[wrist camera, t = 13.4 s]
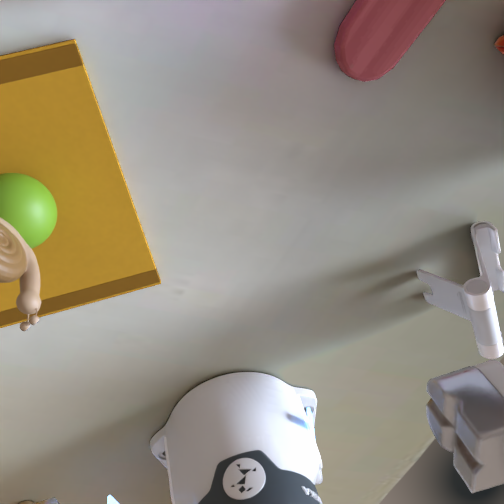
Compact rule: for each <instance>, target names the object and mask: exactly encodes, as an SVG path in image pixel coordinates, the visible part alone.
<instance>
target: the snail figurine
mask: <svg viewBox="0 0 504 504" xmlns="http://www.w3.org/2000/svg"><path fill="white" fill-rule="evenodd" d="M56 221H57V207H56V203H55V200H54V198H53V196H52V194H51V193H50V191H49V190H48V189H47V188H46V187H45V186H44V185H43V184H42V183H41V182H39V181H38V180H36V179H35V178H33V177H30V176H28V175H24V174H20V173H3V174H0V283H10V282H13V281H15V280H17V279H19V278H20V294H19V295H18V297H17V299H16V305H17V307H18V309H19V310H20V311H21V312H22V313H24V314H27V321H26V322H22V323H21V325H20V329H21V330H22V331H26V330H28V329H29V328H30V324H32V325H35V324H37V323H38V322H39V317H38V316H37V312H38V311H39V309H40V306H41V299H40V297H39V293H40V272H39V266H38V263H37V259H36V256H35V254H34V252H33V251H32V249H33V248H35V247H37V246H39V245H40V244H42V243H43V242H44V241H45V240H46V239H47V238H48V237H49V236H50V235H51V233H52V231H53V230H54V227H55V225H56ZM34 313H36V315H33V316H31V317H30V318H29V315H30V314H34ZM28 319H29V322H28Z"/></svg>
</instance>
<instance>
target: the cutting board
mask: <svg viewBox="0 0 504 504" xmlns="http://www.w3.org/2000/svg"><path fill="white" fill-rule="evenodd" d="M3 173H20V174H24V175H28V176H30V177H33V178H35V179H36V180H38V181H39V182H41V183H42V184H43V185H44V186H45V187H46V188H47V189H48V190H49V191H50V193H51V194H52V196H53V198H54V200H55V203H56V207H57V221H56V225H55V227H54V230H53V231H52V233H51V235H50V236H49V237H48V238H47V239H46V240H45V241H44V242H43V243H42V244H40V245H39V246H37V247H35V248H33V249H32V251H33V252H34V254H35V256H36V259H37V263H38V266H39V272H40V293H39V297H40V299H41V306H40V309H39V311H38V312H37V316H38V317H42V316H46V315H50V314H53V313H57V312H60V311H64V310H68V309H71V308H75V307H78V306H82V305H86V304H89V303H93V302H96V301H100V300H104V299H107V298H111V297H115V296H118V295H122V294H125V293H129V292H133V291H136V290H140V289H143V288H147V287H151V286H154V285H158V284H161V280H160V277H159V275H158V272H157V269H156V266H155V263H154V260H153V258H152V255H151V252H150V249H149V246H148V243H147V241H146V238H145V235H144V232H143V229H142V227H141V224H140V221H139V218H138V215H137V212H136V210H135V207H134V204H133V201H132V198H131V196H130V193H129V190H128V187H127V184H126V181H125V179H124V176H123V173H122V170H121V167H120V164H119V162H118V159H117V156H116V153H115V150H114V148H113V145H112V142H111V139H110V136H109V133H108V131H107V128H106V125H105V122H104V119H103V117H102V114H101V111H100V108H99V105H98V102H97V100H96V97H95V94H94V91H93V88H92V85H91V83H90V80H89V77H88V74H87V71H86V69H85V66H84V63H83V60H82V57H81V54H80V52H79V49H78V46H77V43H76V40H75V39H73V40H68V41H64V42H59V43H55V44H51V45H46V46H42V47H37V48H33V49H28V50H24V51H20V52H15V53H11V54H6V55H2V56H0V174H3ZM19 294H20V278H19V279H17V280H15V281H13V282H10V283H0V328H3V327H6V326H10V325H13V324H17V323H21V322H24V321H27V314H24V313H22V312H21V311H20V310H19V309H18V307H17V305H16V299H17V297H18V295H19ZM33 315H36V313H34V314H30V315H29V318H30V317H31V316H33ZM28 320H29V319H28Z"/></svg>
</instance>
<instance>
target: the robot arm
mask: <svg viewBox="0 0 504 504" xmlns="http://www.w3.org/2000/svg"><path fill="white" fill-rule="evenodd" d="M427 392H428V394H429V395H430V396H431V399H430V401H429V402H428V403H427V405H426V409H427V418H428V421H429V425H430V428H431V430H432V432H433V434H434V436H435V438H436V439H437V441H438V442H439V444H440V445H441V447H443V448H445V449H447V450H448V451H450V452H452V453H454V462H453V465H454V467H455V468H456V470H457V471H458V473H459V474H460V476H461V477H462V478H463V480H464V482H465V483H466V485H467V486H468V488H469V489H470V491H471V492H472V493H474V492H478V491H481V490H484V489H487V488H491V487H494V486H498V485H501V484H504V366H503V365H502V364H501V363H500V362H498V361H496V360H489V361H486V362H483V363H480V364H477V365H474V366H469V367H465V368H462V369H459V370H456V371H453V372H450V373H447V374H444V375H441V376H438V377H435V378H432V379H430V380H429V381H428V383H427ZM316 405H317V400H316V396H315V393H314V392H313V391H312V390H309V389H305V388H298V387H292V386H290V385H288V384H286V383H285V382H283V381H281V380H280V379H278V378H276V377H273V376H271V375H267V374H263V373H257V372H238V373H231V374H226V375H222V376H219V377H216V378H213V379H210V380H208V381H206V382H204V383H202V384H200V385H198V386H197V387H195V388H194V389H192V390H191V391H190V392H188V393H187V394H186V395H185V396H184V397H183V398H182V399H181V400H180V401H179V402H178V403H177V405H176V406H175V408H174V409H173V411H172V413H171V415H170V418H169V420H168V422H167V423H166V425H165V426H164V427H163V428H162V429H161V430H160V431H158V432H157V433H156V434H155V435H154V436H153V437H152V439H151V440H150V448H151V452H152V453H153V455H154V456H155V457H156V458H157V459H158V460H159V461H160V462H161V463H162V465H163V466H164V467H165V468H166V469H167V470H168V477H169V485H170V493H171V500H172V504H322V501H321V499H320V498H319V496H318V493H317V490H316V487H315V485H316V484H321V483H322V481H323V478H322V472H321V469H322V461H321V457H320V454H319V451H318V448H317V445H316V442H315V433H314V423H315V414H316ZM32 504H60V503H59V502H58V501H57V499H56V498H55V497H53V498H49V499H46V500H43V501H39V502H36V503H32ZM107 504H119V503H118V502H117V501H116V500H115V499H114V498H113V497H112V496H111V495H109V496H108V497H107Z"/></svg>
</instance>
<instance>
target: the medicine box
mask: <svg viewBox="0 0 504 504" xmlns="http://www.w3.org/2000/svg"><path fill="white" fill-rule="evenodd" d="M494 46H495V48H497V49H498V50H499V51H500V52H501V53H502V54H503V55H504V35H503V36H501V37H499V38H498V40H497V41H496V42H495V44H494Z"/></svg>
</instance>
